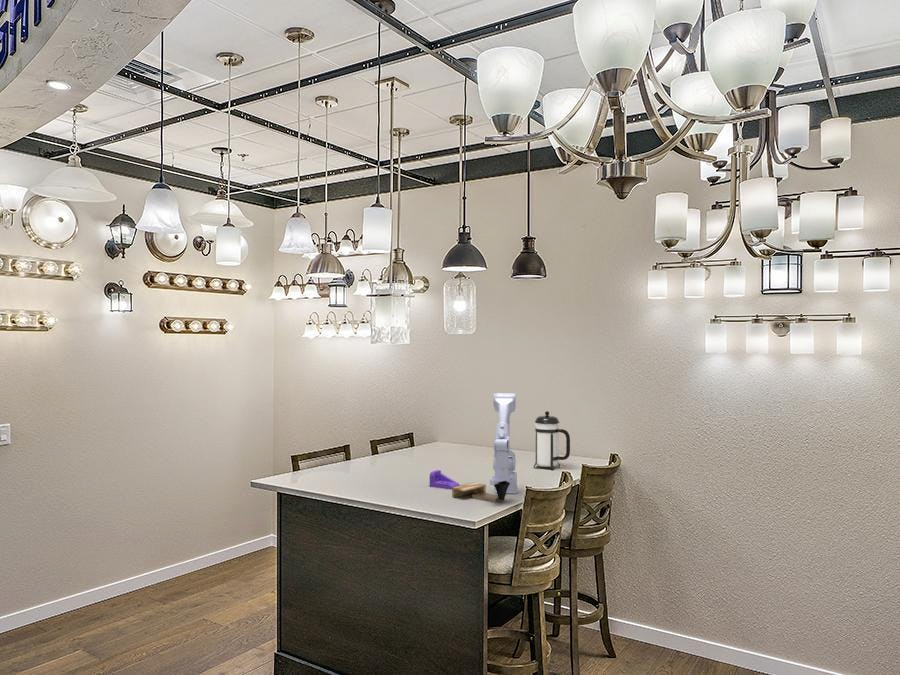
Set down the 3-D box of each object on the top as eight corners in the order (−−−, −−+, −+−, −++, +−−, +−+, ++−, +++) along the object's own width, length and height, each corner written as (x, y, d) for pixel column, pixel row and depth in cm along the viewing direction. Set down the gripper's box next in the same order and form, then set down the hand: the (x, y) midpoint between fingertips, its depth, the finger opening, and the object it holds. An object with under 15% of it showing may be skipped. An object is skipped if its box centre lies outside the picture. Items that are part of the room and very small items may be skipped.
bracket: (429, 487, 304) (429, 472, 304) (437, 484, 310) (437, 469, 310) (452, 490, 298) (452, 475, 298) (459, 487, 304) (459, 472, 304)
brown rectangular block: (485, 494, 289) (485, 484, 289) (464, 499, 279) (464, 489, 279) (473, 491, 294) (473, 482, 294) (452, 497, 284) (452, 487, 284)
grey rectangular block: (503, 500, 279) (503, 496, 279) (495, 503, 275) (495, 498, 275) (480, 496, 287) (480, 491, 287) (472, 499, 282) (472, 494, 282)
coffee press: (538, 471, 340) (539, 413, 340) (529, 465, 356) (529, 409, 356) (570, 470, 344) (570, 412, 344) (559, 464, 359) (559, 409, 360)
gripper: (503, 463, 284) (503, 494, 284) (483, 468, 273) (483, 501, 273) (517, 465, 280) (516, 497, 280) (497, 470, 268) (497, 504, 268)
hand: (501, 499), depth 276 cm, fingers closed
